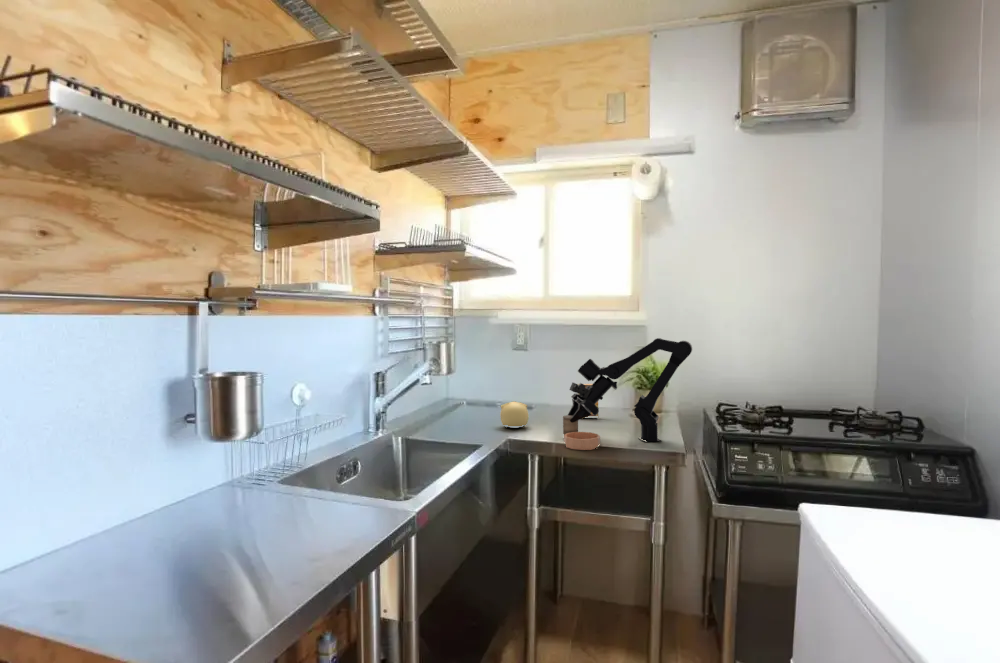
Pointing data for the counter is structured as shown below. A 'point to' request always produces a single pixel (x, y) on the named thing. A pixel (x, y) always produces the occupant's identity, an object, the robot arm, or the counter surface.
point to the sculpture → (514, 414)
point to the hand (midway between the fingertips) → (568, 420)
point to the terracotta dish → (581, 440)
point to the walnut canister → (569, 425)
